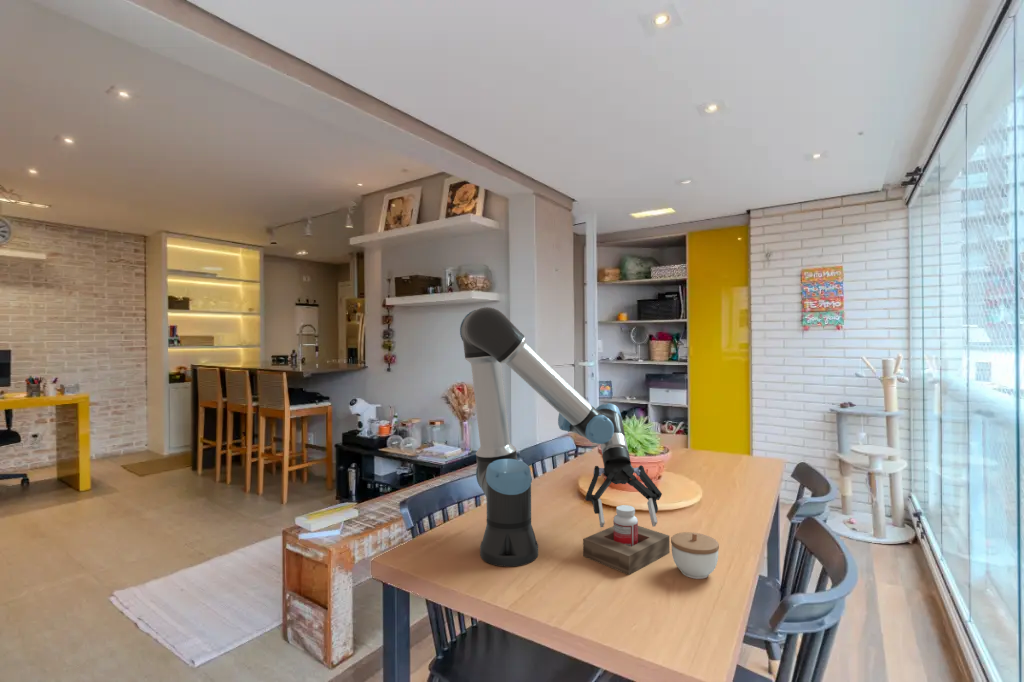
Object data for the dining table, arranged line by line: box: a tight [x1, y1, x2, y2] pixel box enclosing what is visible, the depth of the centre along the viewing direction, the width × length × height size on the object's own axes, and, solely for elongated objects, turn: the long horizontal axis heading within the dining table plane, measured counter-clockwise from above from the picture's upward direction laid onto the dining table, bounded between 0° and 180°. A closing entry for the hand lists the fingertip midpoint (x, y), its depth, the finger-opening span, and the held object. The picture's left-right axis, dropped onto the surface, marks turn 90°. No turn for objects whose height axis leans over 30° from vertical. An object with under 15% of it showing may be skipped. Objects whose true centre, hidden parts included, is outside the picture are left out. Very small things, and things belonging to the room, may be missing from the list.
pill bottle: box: [613, 504, 639, 547], centre depth 131 cm, size 6×6×11 cm
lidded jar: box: [670, 531, 720, 580], centre depth 121 cm, size 11×11×9 cm
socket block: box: [582, 525, 671, 576], centre depth 131 cm, size 18×14×4 cm
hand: (628, 524), depth 130 cm, fingers open, 13 cm apart
